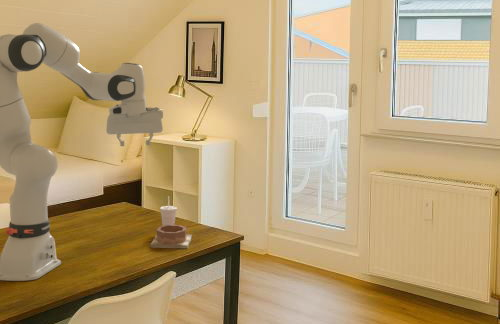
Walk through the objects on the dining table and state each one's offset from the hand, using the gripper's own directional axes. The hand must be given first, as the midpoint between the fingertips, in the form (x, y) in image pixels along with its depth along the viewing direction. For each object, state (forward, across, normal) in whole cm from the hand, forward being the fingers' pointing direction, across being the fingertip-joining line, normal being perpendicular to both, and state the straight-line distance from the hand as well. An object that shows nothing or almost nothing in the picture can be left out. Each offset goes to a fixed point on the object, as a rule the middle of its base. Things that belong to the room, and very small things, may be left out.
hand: (135, 145), depth 226 cm
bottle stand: (+33, -11, +14) cm, 38 cm away
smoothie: (+34, -11, +2) cm, 36 cm away
